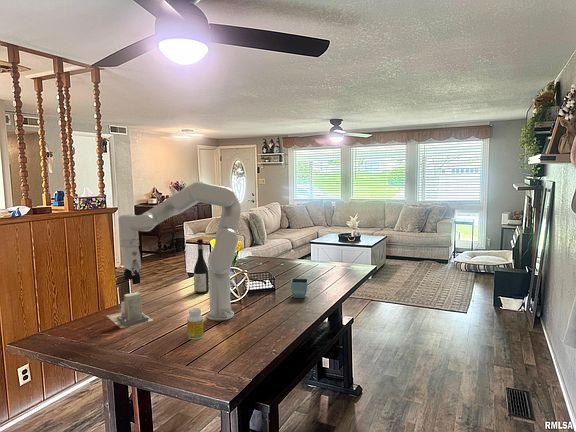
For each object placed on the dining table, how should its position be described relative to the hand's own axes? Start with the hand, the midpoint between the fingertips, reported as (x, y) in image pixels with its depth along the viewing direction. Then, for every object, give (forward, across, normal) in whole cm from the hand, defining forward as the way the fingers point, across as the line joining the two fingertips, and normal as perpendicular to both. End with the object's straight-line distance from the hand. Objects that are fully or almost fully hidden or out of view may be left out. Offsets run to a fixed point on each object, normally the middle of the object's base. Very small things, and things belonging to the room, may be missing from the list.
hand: (132, 281), depth 174 cm
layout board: (+19, +5, +1) cm, 20 cm away
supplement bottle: (+20, -31, -13) cm, 39 cm away
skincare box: (+18, 0, 0) cm, 18 cm away
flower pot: (+21, -20, -80) cm, 85 cm away
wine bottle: (+20, +23, -45) cm, 55 cm away
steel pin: (+18, +11, +1) cm, 21 cm away
